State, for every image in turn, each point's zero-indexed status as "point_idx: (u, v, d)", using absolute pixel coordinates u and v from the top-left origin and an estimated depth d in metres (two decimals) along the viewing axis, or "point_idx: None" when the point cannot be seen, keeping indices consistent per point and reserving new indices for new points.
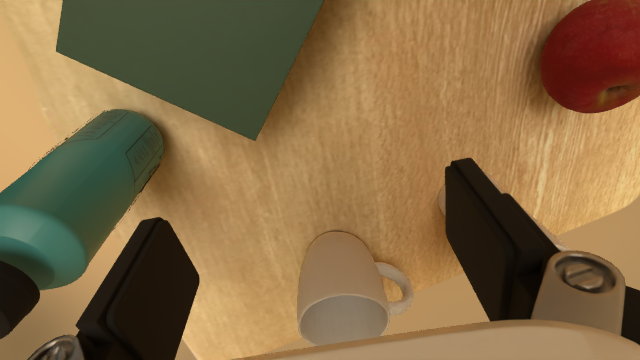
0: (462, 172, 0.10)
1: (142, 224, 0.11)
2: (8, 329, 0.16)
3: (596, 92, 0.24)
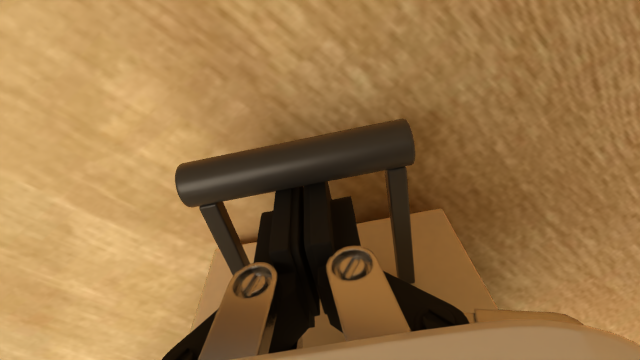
0: None
1: None
2: None
3: None
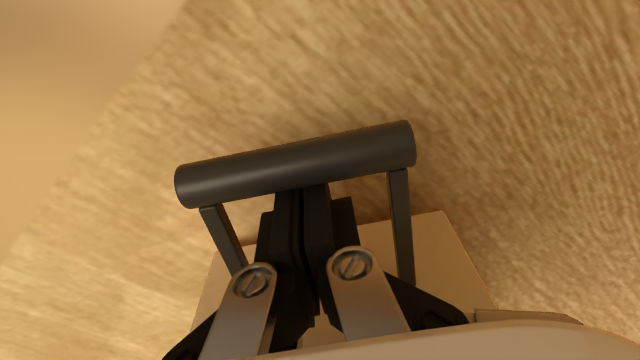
0: None
1: None
2: None
3: None
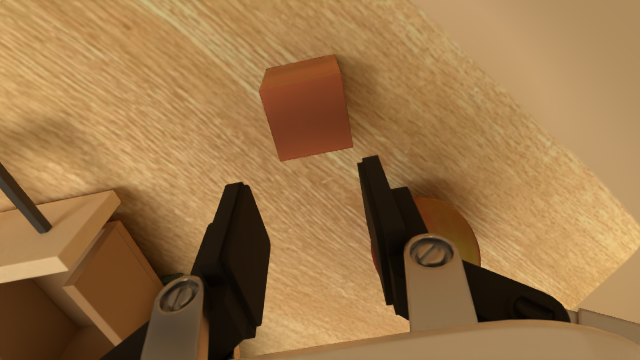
0: (366, 168, 0.11)
1: (228, 187, 0.11)
2: None
3: None
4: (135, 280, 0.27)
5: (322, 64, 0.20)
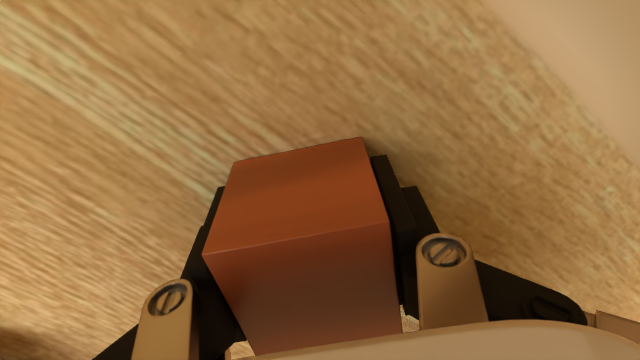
0: (374, 167, 0.11)
1: (220, 189, 0.11)
2: None
3: None
4: None
5: (341, 170, 0.10)
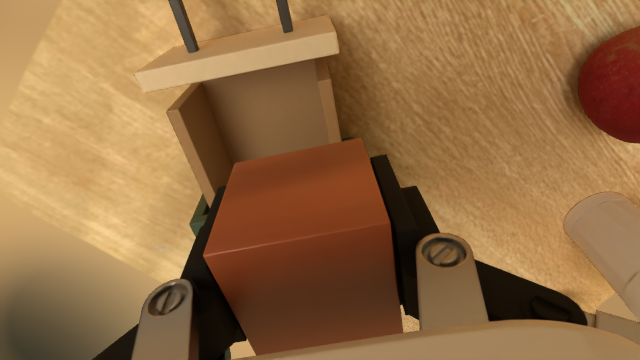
0: (375, 167, 0.11)
1: (220, 189, 0.11)
2: None
3: None
4: None
5: (342, 171, 0.10)
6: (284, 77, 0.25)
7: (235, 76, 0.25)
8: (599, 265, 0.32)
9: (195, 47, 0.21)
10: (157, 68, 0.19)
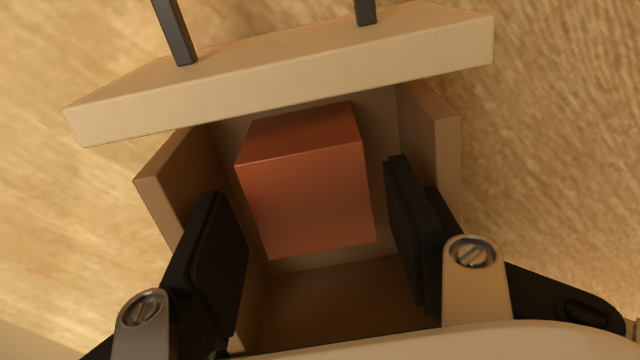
0: (393, 166, 0.11)
1: (203, 195, 0.11)
2: None
3: None
4: None
5: (332, 118, 0.13)
6: None
7: None
8: None
9: (190, 56, 0.11)
10: (108, 99, 0.09)
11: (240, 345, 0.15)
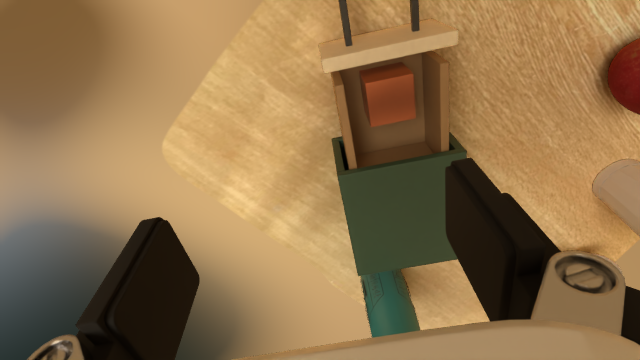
0: (462, 172, 0.10)
1: (142, 224, 0.11)
2: None
3: None
4: None
5: (397, 68, 0.33)
6: None
7: None
8: (622, 213, 0.42)
9: (351, 42, 0.31)
10: (337, 56, 0.29)
11: (356, 166, 0.35)
